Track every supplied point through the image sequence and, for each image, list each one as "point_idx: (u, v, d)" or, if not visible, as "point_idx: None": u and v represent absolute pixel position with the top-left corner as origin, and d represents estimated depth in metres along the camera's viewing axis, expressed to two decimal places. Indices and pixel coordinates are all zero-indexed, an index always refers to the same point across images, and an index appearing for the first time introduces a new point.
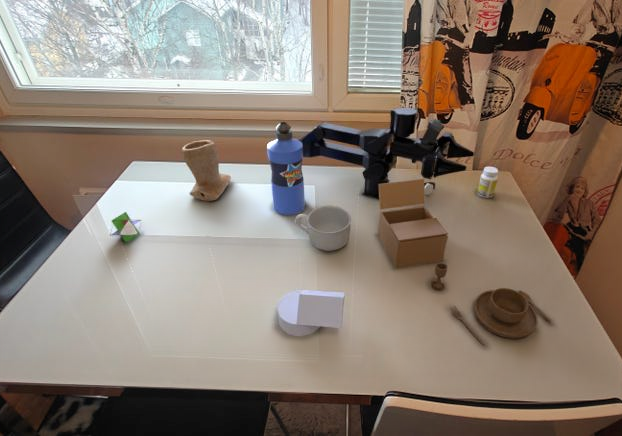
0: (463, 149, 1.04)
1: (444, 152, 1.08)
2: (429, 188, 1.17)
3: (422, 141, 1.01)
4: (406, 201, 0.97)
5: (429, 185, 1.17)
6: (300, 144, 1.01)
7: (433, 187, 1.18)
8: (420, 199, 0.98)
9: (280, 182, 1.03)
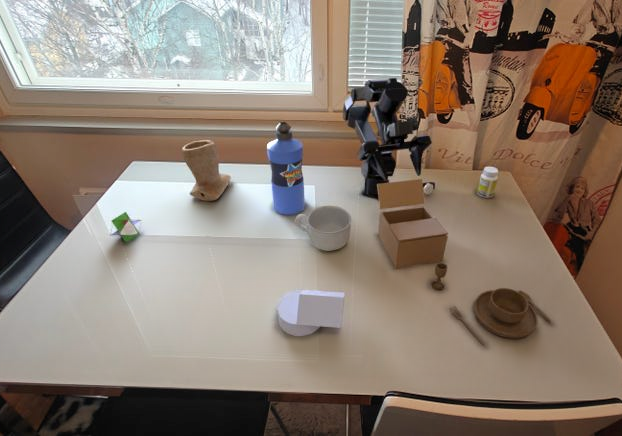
0: (417, 163, 0.99)
1: (411, 149, 1.03)
2: (429, 188, 1.17)
3: (387, 127, 0.97)
4: (406, 201, 0.97)
5: (429, 185, 1.17)
6: (300, 144, 1.01)
7: (433, 187, 1.18)
8: (420, 199, 0.98)
9: (280, 182, 1.03)
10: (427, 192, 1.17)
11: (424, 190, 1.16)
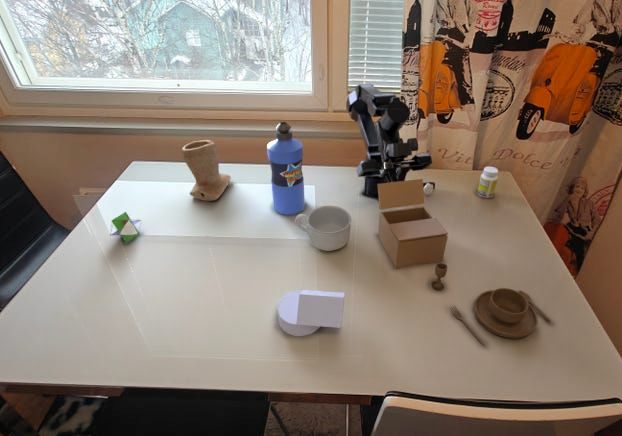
0: None
1: (396, 169, 1.01)
2: (429, 188, 1.17)
3: (387, 146, 0.96)
4: (406, 201, 0.97)
5: (429, 185, 1.17)
6: (300, 144, 1.01)
7: (433, 187, 1.18)
8: (420, 199, 0.98)
9: (280, 182, 1.03)
10: (427, 192, 1.17)
11: (424, 190, 1.16)
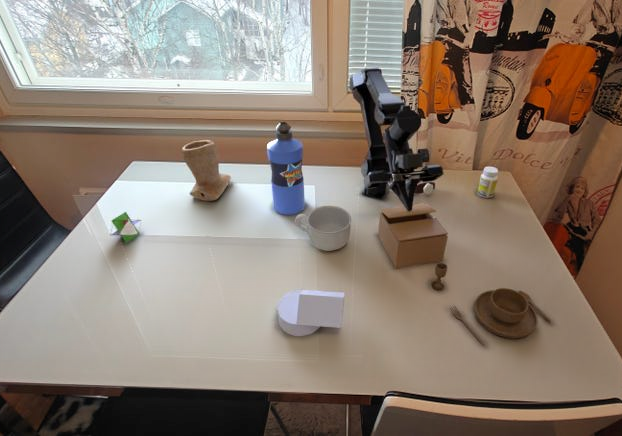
0: (409, 198, 0.93)
1: (405, 180, 0.96)
2: (429, 188, 1.17)
3: (396, 157, 0.91)
4: None
5: (429, 185, 1.17)
6: (300, 144, 1.01)
7: (433, 187, 1.18)
8: None
9: (280, 182, 1.03)
10: (427, 192, 1.17)
11: (424, 190, 1.16)
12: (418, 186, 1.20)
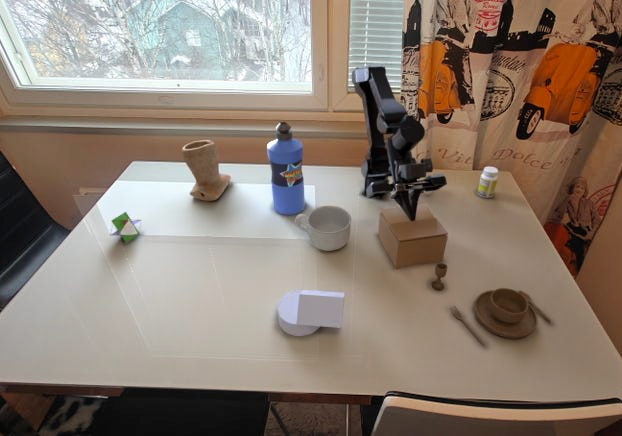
0: (412, 208, 0.92)
1: (408, 190, 0.95)
2: None
3: (399, 166, 0.90)
4: None
5: None
6: (300, 144, 1.01)
7: None
8: None
9: (280, 182, 1.03)
10: (427, 192, 1.17)
11: None
12: None
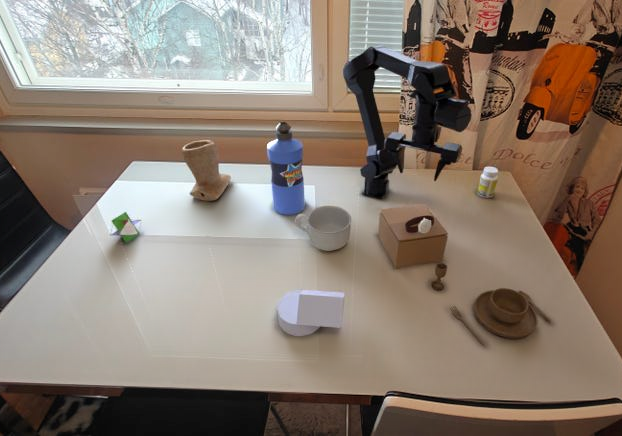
0: (403, 161, 1.03)
1: (399, 147, 0.99)
2: (426, 225, 0.87)
3: (437, 128, 0.97)
4: None
5: (426, 221, 0.87)
6: (300, 144, 1.01)
7: (431, 223, 0.88)
8: None
9: (280, 182, 1.03)
10: (423, 230, 0.87)
11: (419, 228, 0.86)
12: (411, 221, 0.90)
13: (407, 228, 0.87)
